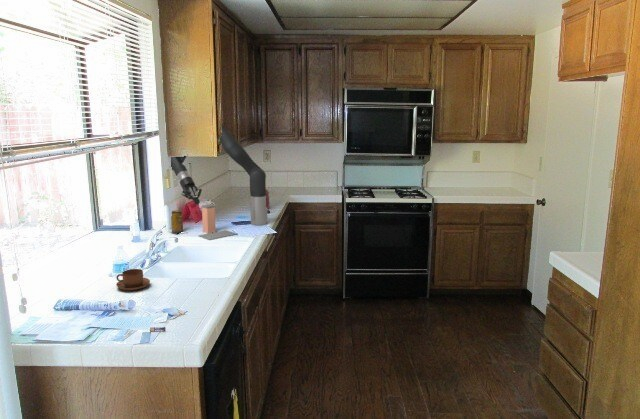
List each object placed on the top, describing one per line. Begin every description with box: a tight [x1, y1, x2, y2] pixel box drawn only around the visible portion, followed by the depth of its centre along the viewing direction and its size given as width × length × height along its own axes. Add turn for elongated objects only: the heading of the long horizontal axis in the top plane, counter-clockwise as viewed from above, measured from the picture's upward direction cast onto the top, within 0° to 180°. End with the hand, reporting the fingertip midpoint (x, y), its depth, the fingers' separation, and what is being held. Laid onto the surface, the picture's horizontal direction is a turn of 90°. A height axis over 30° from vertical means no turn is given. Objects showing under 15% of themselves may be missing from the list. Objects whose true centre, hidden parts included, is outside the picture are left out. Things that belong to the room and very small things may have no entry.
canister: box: [266, 186, 270, 210], centre depth 337 cm, size 13×13×18 cm
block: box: [201, 204, 217, 234], centre depth 269 cm, size 5×5×15 cm
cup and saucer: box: [115, 268, 151, 291], centre depth 184 cm, size 12×12×6 cm
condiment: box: [169, 209, 188, 235], centre depth 268 cm, size 7×8×12 cm
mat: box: [197, 229, 238, 241], centre depth 263 cm, size 18×11×1 cm, turn 136°
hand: (197, 203), depth 275 cm, fingers closed
